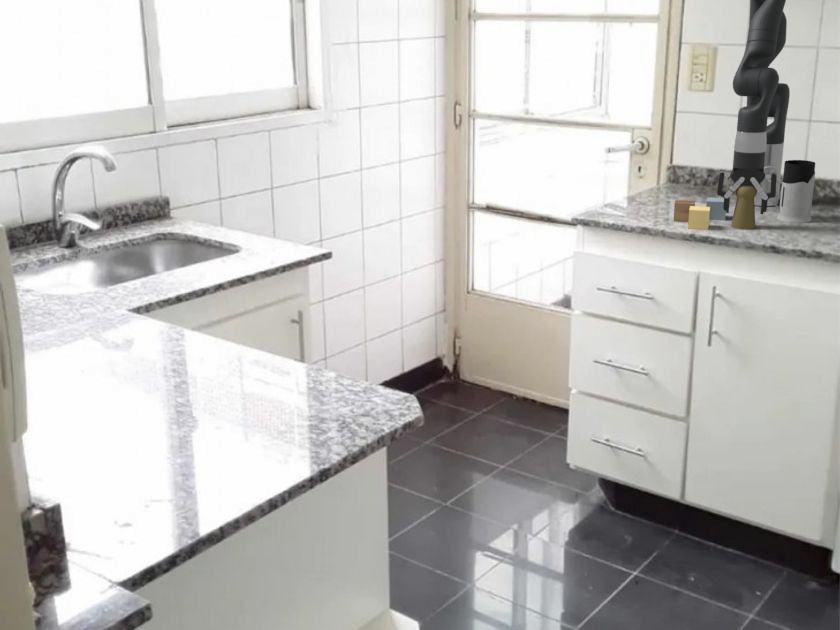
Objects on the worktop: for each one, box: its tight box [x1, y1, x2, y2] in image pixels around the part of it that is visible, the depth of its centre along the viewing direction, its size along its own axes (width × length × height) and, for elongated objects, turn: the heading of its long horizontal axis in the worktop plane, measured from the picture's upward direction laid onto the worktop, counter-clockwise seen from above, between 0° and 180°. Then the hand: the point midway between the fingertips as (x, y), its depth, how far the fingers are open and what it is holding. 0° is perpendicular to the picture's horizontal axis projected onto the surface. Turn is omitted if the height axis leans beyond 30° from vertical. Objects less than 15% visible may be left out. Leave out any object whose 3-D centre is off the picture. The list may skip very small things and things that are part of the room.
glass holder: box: [760, 159, 816, 224], centre depth 261 cm, size 9×14×15 cm, turn 77°
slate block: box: [705, 197, 727, 221], centre depth 265 cm, size 5×5×5 cm
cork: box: [730, 185, 757, 230], centre depth 254 cm, size 6×6×11 cm
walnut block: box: [673, 198, 696, 223], centre depth 264 cm, size 5×5×5 cm
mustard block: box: [687, 205, 710, 231], centre depth 255 cm, size 5×5×5 cm
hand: (744, 212), depth 254 cm, fingers open, 8 cm apart
